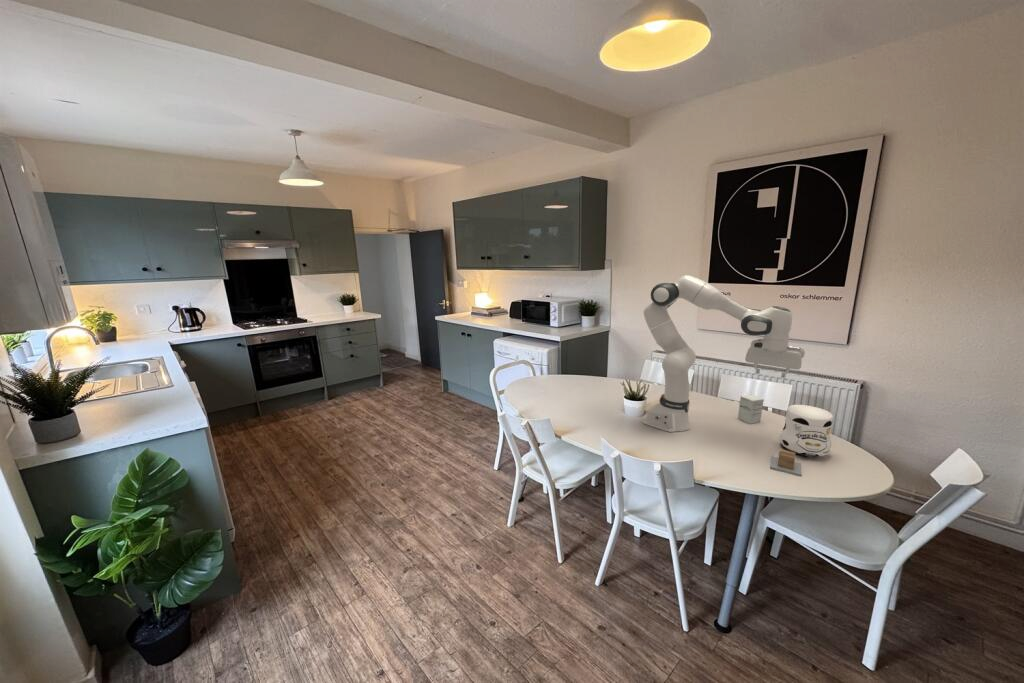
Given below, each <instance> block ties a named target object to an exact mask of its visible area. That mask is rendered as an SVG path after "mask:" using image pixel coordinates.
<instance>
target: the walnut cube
mask: <svg viewBox="0 0 1024 683" xmlns="http://www.w3.org/2000/svg"><path fill="white" fill-rule="evenodd" d="M778 453H779V454H778V458H779V459H778V466H781V467H785V468H789V469H793V468H794V462H796V453H794V452H792V451H790V450H787V449H786V450H785V449H782V448H780V449H779V452H778Z"/></svg>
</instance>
